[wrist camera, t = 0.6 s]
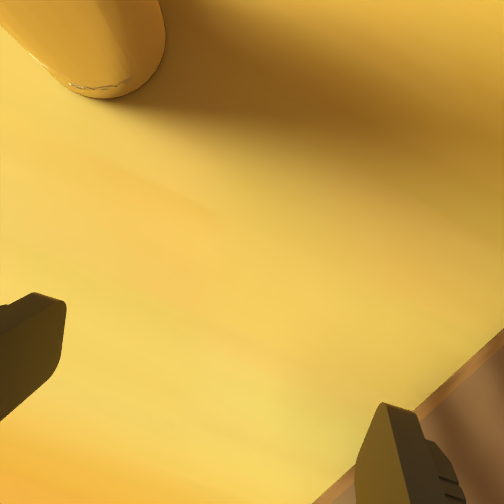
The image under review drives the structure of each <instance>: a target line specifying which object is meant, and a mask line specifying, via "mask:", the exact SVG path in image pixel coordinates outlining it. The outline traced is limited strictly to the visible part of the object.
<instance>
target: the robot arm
mask: <svg viewBox="0 0 504 504" xmlns="http://www.w3.org/2000/svg"><path fill="white" fill-rule="evenodd" d="M0 26H1V27H2V28H4V29H5V30H6V31H7V32H8V33H9V34H10V35H11V36H12V37H13V38H14V39H15V40H16V41H17V42H18V43H19V44H20V45H21V46H22V47H23V48H24V49H25V50H26V51H27V52H28V53H29V54H30V55H31V56H33V57H34V58H35V59H36V60H37V61H38V62H39V63H40V64H41V65H42V66H43V67H44V68H45V69H46V70H47V71H48V72H49V73H50V74H51V75H52V76H53V77H54V78H55V79H56V80H58V81H59V82H60V83H61V84H63V85H64V86H66V87H67V88H68V89H70V90H72V91H74V92H76V93H79V94H81V95H83V96H88V97H93V98H114V97H119V96H123V95H126V94H128V93H130V92H132V91H135V90H136V89H138V88H139V87H140V86H142V85H143V84H144V83H146V82H147V81H148V80H149V78H150V77H151V76H152V75H153V74H154V73H155V71H156V69H157V67H158V65H159V64H160V62H161V60H162V56H163V53H164V49H165V39H166V32H165V25H164V20H163V16H162V12H161V9H160V5H159V1H158V0H0ZM65 318H66V304H65V302H64V301H61V300H58V299H55V298H52V297H49V296H45V295H42V294H39V293H35V292H34V293H30V294H28V295H26V296H25V297H23V298H21V299H19V300H17V301H15V302H13V303H11V304H9V305H1V306H0V421H1V420H2V419H4V418H5V417H6V416H7V415H8V414H9V413H10V412H12V411H13V410H14V409H15V408H16V407H17V406H18V405H20V404H21V403H22V402H23V401H24V400H25V399H26V398H28V397H29V396H30V395H31V394H32V393H33V392H34V391H36V390H37V389H38V388H39V387H40V386H41V385H42V384H43V383H45V382H46V381H47V380H48V379H49V378H50V377H51V375H52V374H53V373H54V371H55V369H56V367H57V365H58V363H59V360H60V356H61V349H62V342H63V334H64V326H65ZM354 485H355V495H356V504H466V501H467V500H466V498H465V495H464V493H463V490H462V488H461V487H459V481H458V478H457V476H456V473H455V471H454V468H453V466H452V463H451V462H450V460H449V459H448V458H447V457H446V455H445V454H444V453H443V452H442V450H441V449H440V448H439V447H438V445H437V444H436V443H435V442H433V441H430V440H427V439H425V437H424V434H423V431H422V428H421V426H420V423H419V420H418V417H417V415H416V413H415V412H412V411H409V410H406V409H403V408H399V407H396V406H393V405H390V404H387V403H383V402H382V403H381V404H380V405H379V406H378V408H377V410H376V412H375V415H374V417H373V419H372V422H371V424H370V427H369V429H368V432H367V434H366V437H365V439H364V442H363V444H362V447H361V449H360V451H359V454H358V457H357V461H356V466H355V473H354Z"/></svg>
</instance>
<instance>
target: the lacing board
mask: <svg viewBox="0 0 504 504" xmlns="http://www.w3.org/2000/svg"><path fill="white" fill-rule="evenodd" d="M413 412H415V413H416V415H417V417H418V420H419V423H420V426H421V428H422V431H423V434H424V437H425V439H427V440H430V441H433V442H435V443H436V444H437V445H438V447H439V448H440V449H441V450H442V452H443V453H444V454H445V455H446V457H447V458H448V459H449V460H450V462H451V463H452V466H453V468H454V471H455V473H456V476H457V478H458V481H459V487H461V488H462V490H463V493H464V495H465V498H466V500H467V501H466V504H504V329H503V330H501V331H500V332H499V333H498V334H497V335H496V336H495V337H494V338H493V339H492V340H491V341H489V342H488V343H487V344H486V345H485V346H484V347H483V348H482V349H481V350H480V351H479V352H477V353H476V354H475V355H474V356H473V357H472V358H471V359H470V360H469V361H468V362H467V363H465V364H464V365H463V366H462V367H461V368H460V369H459V370H458V371H457V372H456V373H455V374H453V375H452V376H451V377H450V378H449V379H448V380H447V381H446V382H445V383H444V384H443V385H441V386H440V387H439V388H438V389H437V390H436V391H435V392H434V393H433V394H432V395H431V396H429V397H428V398H427V399H426V400H425V401H424V402H423V403H422V404H421V405H420V406H419V407H417V408H416V409H415V410H414V411H413ZM355 466H356V464H355V465H354V466H353V467H352V468H351V469H350V470H349V471H348V472H346V473H345V474H344V475H343V476H342V477H341V478H340V479H339V480H338V481H337V482H336V483H334V484H333V485H332V486H331V487H330V488H329V489H328V490H327V491H326V492H325V493H324V494H322V495H321V496H320V497H319V498H318V499H317V500H316V501H315V502H314V503H313V504H356V495H355V485H354V473H355Z"/></svg>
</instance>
